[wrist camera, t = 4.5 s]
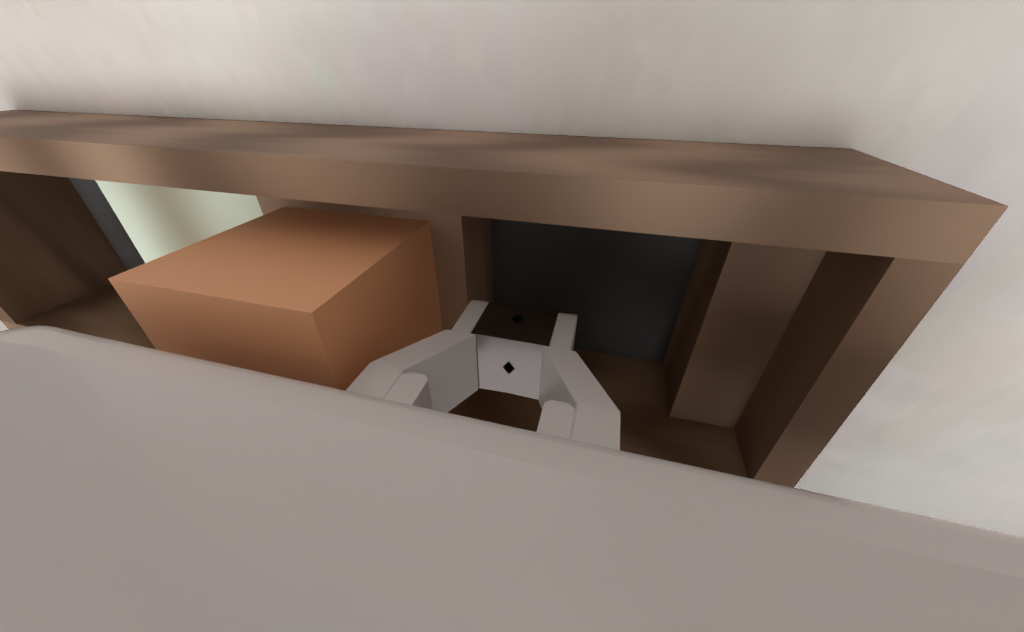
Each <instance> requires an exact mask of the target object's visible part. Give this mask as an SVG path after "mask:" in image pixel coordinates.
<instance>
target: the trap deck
mask: <svg viewBox="0 0 1024 632" xmlns="http://www.w3.org/2000/svg"><path fill="white" fill-rule="evenodd" d="M285 206H286V207H296V208H305V209H315V210H325V211H335V212H345V213H354V214H364V215H374V216H384V217H394V218H403V219H413V220H423V221H430V229H431V237H432V246H433V254H434V262H435V270H436V278H437V287H438V295H439V303H440V311H441V320H442V328H443V331H444V330H451V329H452V328H453V326H454V325H455V324H456V322H457V321H458V319H459V318H460V316H461V315H462V313H463V312H464V310H465V309H466V307H467V306H468V304H469V303H470V301H471V300H481V301H488V302H493V303H499V304H505V305H511V306H517V307H522V308H525V309H533V310H541V311H549V312H557V313H567V314H576V315H577V316H578V318H577V325H576V333H575V340H574V347H573V351H576V352H577V353H578V355H579V356H580V358H581V359H582V360H583V362H584V363H585V364H586V366H587V367H588V368H589V370H590V371H591V373H592V374H593V375H594V377H595V378H596V379H597V381H598V382H599V384H600V385H601V386H602V388H603V389H604V390H605V392H606V393H607V395H608V396H609V397H610V399H611V400H612V401H613V403H614V404H615V405H616V407H617V408H618V410H619V411H620V450H621V451H626V452H630V453H635V454H639V455H644V456H649V457H653V458H658V459H662V460H667V461H672V462H676V463H681V464H686V465H691V466H695V467H700V468H705V469H709V470H714V471H718V472H723V473H728V474H732V475H737V476H741V477H746V478H751V479H755V480H760V481H764V482H769V483H774V484H778V485H783V486H787V487H792V488H794V487H795V485H796V484H797V483H798V481H799V480H800V479H801V477H802V476H803V475H804V473H805V472H806V471H807V470H808V468H809V467H810V466H811V464H812V463H813V462H814V460H815V459H816V458H817V456H818V455H819V454H820V452H821V451H822V450H823V449H824V447H825V446H826V445H827V443H828V442H829V441H830V439H831V438H832V437H833V435H834V434H835V433H836V432H837V430H838V429H839V428H840V426H841V425H842V424H843V422H844V421H845V420H846V418H847V417H848V416H849V414H850V413H851V412H852V411H853V409H854V408H855V407H856V405H857V404H858V403H859V401H860V400H861V399H862V397H863V396H864V395H865V394H866V392H867V391H868V390H869V388H870V387H871V386H872V384H873V383H874V382H875V380H876V379H877V378H878V376H879V375H880V374H881V373H882V371H883V370H884V369H885V367H886V366H887V365H888V363H889V362H890V361H891V359H892V358H893V357H894V355H895V354H896V353H897V352H898V350H899V349H900V348H901V346H902V345H903V344H904V342H905V341H906V340H907V338H908V337H909V336H910V335H911V333H912V332H913V331H914V329H915V328H916V327H917V325H918V324H919V323H920V321H921V320H922V319H923V317H924V316H925V315H926V314H927V312H928V311H929V310H930V308H931V307H932V306H933V304H934V303H935V302H936V300H937V299H938V298H939V296H940V295H941V294H942V293H943V291H944V290H945V289H946V287H947V286H948V285H949V283H950V282H951V281H952V279H953V278H954V277H955V276H956V274H957V273H958V272H959V270H960V269H961V268H962V266H963V265H964V264H965V262H966V261H967V260H968V258H969V257H970V256H971V255H972V253H973V252H974V251H975V249H976V248H977V247H978V245H979V244H980V243H981V241H982V240H983V239H984V237H985V236H986V235H987V234H988V232H989V231H990V230H991V228H992V227H993V226H994V224H995V223H996V222H997V220H998V219H999V218H1000V217H1001V215H1002V214H1003V213H1004V211H1005V210H1006V209H1007V207H1008V206H1006V205H1004V204H1001V203H998V202H996V201H993V200H990V199H987V198H985V197H982V196H979V195H977V194H974V193H971V192H968V191H966V190H963V189H960V188H957V187H955V186H952V185H949V184H947V183H944V182H941V181H938V180H936V179H933V178H930V177H928V176H925V175H922V174H919V173H917V172H914V171H911V170H908V169H906V168H903V167H900V166H898V165H895V164H892V163H889V162H887V161H884V160H881V159H879V158H876V157H873V156H870V155H868V154H865V153H862V152H859V151H857V150H854V149H842V148H820V147H799V146H777V145H756V144H735V143H713V142H692V141H670V140H649V139H627V138H606V137H584V136H563V135H541V134H520V133H499V132H477V131H456V130H434V129H413V128H391V127H370V126H348V125H327V124H305V123H284V122H262V121H241V120H220V119H198V118H177V117H155V116H134V115H112V114H91V113H69V112H48V111H26V110H9V111H0V320H1V321H2V322H3V323H4V324H5V326H7V328H8V329H9V330H11V329H17V328H23V327H30V326H52V327H58V328H62V329H66V330H70V331H75V332H79V333H83V334H88V335H92V336H97V337H101V338H106V339H111V340H115V341H120V342H124V343H129V344H134V345H138V346H143V347H147V348H152V349H156V348H155V347H154V345H153V344H152V342H151V341H150V339H149V338H148V337H147V335H146V334H145V332H144V331H143V329H142V328H141V326H140V325H139V323H138V322H137V320H136V319H135V318H134V316H133V315H132V313H131V312H130V310H129V309H128V307H127V306H126V304H125V303H124V301H123V300H122V299H121V297H120V296H119V294H118V293H117V291H116V290H115V288H114V287H113V285H112V284H111V283H110V281H109V280H108V278H110V277H113V276H115V275H118V274H120V273H123V272H125V271H127V270H130V269H132V268H135V267H137V266H140V265H142V264H145V263H147V262H150V261H152V260H154V259H157V258H159V257H162V256H164V255H167V254H169V253H172V252H174V251H177V250H179V249H182V248H184V247H186V246H189V245H191V244H194V243H196V242H199V241H201V240H204V239H206V238H209V237H211V236H213V235H216V234H218V233H221V232H223V231H226V230H228V229H231V228H233V227H236V226H238V225H240V224H243V223H245V222H248V221H250V220H253V219H255V218H258V217H260V216H263V215H265V214H267V213H270V212H272V211H275V210H277V209H280V208H282V207H285ZM448 413H451V414H455V415H460V416H465V417H469V418H474V419H479V420H483V421H488V422H493V423H497V424H502V425H507V426H511V427H516V428H520V429H525V430H529V431H534V432H536V431H537V428H538V424H539V420H540V417H541V413H542V408H541V406H540V404H539V400H537V399H533V398H528V397H524V396H520V395H515V394H511V393H506V392H500V391H494V390H488V389H482V388H478V390H477V391H476V392H474V393H473V394H472V395H470V396H469V397H468V398H466V399H465V400H464V401H462V402H461V403H460V404H458V405H457V406H456V407H454V408H453V409H452V410H450V411H449V412H448Z"/></svg>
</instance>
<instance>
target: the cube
mask: <svg viewBox="0 0 1024 632" xmlns="http://www.w3.org/2000/svg"><path fill="white" fill-rule="evenodd" d="M108 280H109V281H110V283H111V284H112V285H113V287H114V288H115V290H116V291H117V293H118V294H119V296H120V297H121V299H122V300H123V301H124V303H125V304H126V306H127V307H128V309H129V310H130V312H131V313H132V315H133V316H134V318H135V319H136V320H137V322H138V323H139V325H140V326H141V328H142V329H143V331H144V332H145V334H146V335H147V337H148V338H149V339H150V341H151V342H152V344H153V345H154V347H155V348H156V349H157V350H161V351H166V352H170V353H175V354H180V355H184V356H189V357H193V358H198V359H202V360H207V361H212V362H216V363H221V364H225V365H230V366H235V367H239V368H244V369H248V370H253V371H258V372H262V373H267V374H271V375H276V376H281V377H285V378H290V379H294V380H299V381H304V382H308V383H313V384H317V385H322V386H326V387H331V388H336V389H340V390H345V391H346V390H347V388H348V387H349V386H350V385H351V384H352V383H353V382H354V380H355V379H356V378H357V377H358V376H359V375H360V374H361V372H362V371H363V370H364V369H365V368H366V367H367V366H368V364H369V363H370V362H372V361H375V360H377V359H379V358H382V357H384V356H386V355H389V354H391V353H393V352H395V351H398V350H400V349H402V348H405V347H407V346H409V345H412V344H414V343H416V342H418V341H421V340H423V339H425V338H428V337H430V336H432V335H435V334H437V333H439V332H441V331H443V328H442V320H441V311H440V303H439V295H438V287H437V278H436V270H435V262H434V254H433V246H432V237H431V229H430V221H423V220H413V219H403V218H394V217H384V216H374V215H364V214H354V213H345V212H335V211H325V210H315V209H305V208H296V207H286V206H285V207H282V208H280V209H277V210H275V211H272V212H270V213H267V214H265V215H263V216H260V217H258V218H255V219H253V220H250V221H248V222H245V223H243V224H240V225H238V226H236V227H233V228H231V229H228V230H226V231H223V232H221V233H218V234H216V235H213V236H211V237H209V238H206V239H204V240H201V241H199V242H196V243H194V244H191V245H189V246H186V247H184V248H182V249H179V250H177V251H174V252H172V253H169V254H167V255H164V256H162V257H159V258H157V259H154V260H152V261H150V262H147V263H145V264H142V265H140V266H137V267H135V268H132V269H130V270H127V271H125V272H123V273H120V274H118V275H115V276H113V277H110V278H108Z"/></svg>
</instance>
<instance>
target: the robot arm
mask: <svg viewBox="0 0 1024 632" xmlns="http://www.w3.org/2000/svg"><path fill="white" fill-rule="evenodd" d="M577 318H578V316H577V315H576V314H567V313H557V312H549V311H541V310H533V309H525V308H522V307H517V306H511V305H505V304H499V303H493V302H488V301H481V300H471V301H470V303H469V304H468V306H467V307H466V309H465V310H464V312H463V313H462V315H461V316H460V318H459V319H458V321H457V322H456V324H455V325H454V326H453V328H452V329H451V330H444V331H441V332H439V333H437V334H435V335H432V336H430V337H428V338H425V339H423V340H421V341H418V342H416V343H414V344H412V345H409V346H407V347H405V348H402V349H400V350H398V351H395V352H393V353H391V354H389V355H386V356H384V357H382V358H379V359H377V360H375V361H372V362H370V363H369V364H368V366H367V367H366V368H365V369H364V370H363V371H362V372H361V374H360V375H359V376H358V377H357V378H356V379H355V380H354V382H353V383H352V384H351V385H350V386H349V387H348V388H347V390H346V391H345V390H340V389H336V388H331V387H326V386H322V385H317V384H313V383H308V382H304V381H299V380H294V379H290V378H285V377H281V376H276V375H271V374H267V373H262V372H258V371H253V370H248V369H244V368H239V367H235V366H230V365H225V364H221V363H216V362H212V361H207V360H202V359H198V358H193V357H189V356H184V355H180V354H175V353H170V352H166V351H161V350H157V349H152V348H147V347H143V346H138V345H134V344H129V343H124V342H120V341H115V340H111V339H106V338H101V337H97V336H92V335H88V334H83V333H79V332H75V331H70V330H66V329H62V328H58V327H52V326H30V327H23V328H17V329H11V330H5V331H0V632H1024V538H1022V537H1018V536H1013V535H1009V534H1004V533H999V532H995V531H990V530H985V529H981V528H976V527H972V526H967V525H962V524H958V523H953V522H949V521H944V520H939V519H935V518H930V517H926V516H921V515H916V514H912V513H907V512H903V511H898V510H893V509H889V508H884V507H879V506H875V505H870V504H866V503H861V502H856V501H852V500H847V499H843V498H838V497H833V496H829V495H824V494H820V493H815V492H810V491H806V490H801V489H797V488H792V487H787V486H783V485H778V484H774V483H769V482H764V481H760V480H755V479H751V478H746V477H741V476H737V475H732V474H728V473H723V472H718V471H714V470H709V469H705V468H700V467H695V466H691V465H686V464H681V463H676V462H672V461H667V460H662V459H658V458H653V457H649V456H644V455H639V454H635V453H630V452H626V451H621V450H620V411H619V410H618V408H617V407H616V405H615V404H614V403H613V401H612V400H611V399H610V397H609V396H608V395H607V393H606V392H605V390H604V389H603V388H602V386H601V385H600V384H599V382H598V381H597V379H596V378H595V377H594V375H593V374H592V373H591V371H590V370H589V368H588V367H587V366H586V364H585V363H584V362H583V360H582V359H581V358H580V356H579V355H578V353H577V352H576V351H573V347H574V340H575V333H576V325H577ZM478 388H482V389H488V390H494V391H500V392H506V393H511V394H515V395H520V396H524V397H528V398H533V399H537V400H539V404H540V406H541V408H542V413H541V417H540V420H539V424H538V428H537V431H536V432H534V431H529V430H525V429H520V428H516V427H511V426H507V425H502V424H497V423H493V422H488V421H483V420H479V419H474V418H469V417H465V416H460V415H455V414H451V413H448V412H449V411H450V410H452V409H453V408H454V407H456V406H457V405H458V404H460V403H461V402H462V401H464V400H465V399H466V398H468V397H469V396H470V395H472V394H473V393H474V392H476V391H477V390H478Z"/></svg>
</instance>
